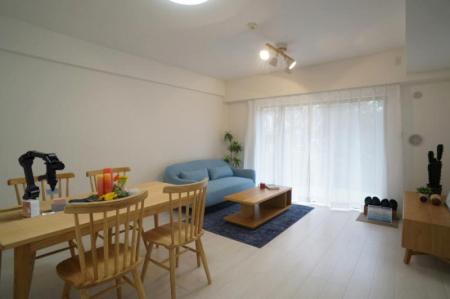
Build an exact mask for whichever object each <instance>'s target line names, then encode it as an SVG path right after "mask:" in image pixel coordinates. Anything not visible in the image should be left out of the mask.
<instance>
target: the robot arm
mask: <svg viewBox="0 0 450 299" xmlns="http://www.w3.org/2000/svg"><path fill="white" fill-rule="evenodd" d="M36 158H37V159H42V161H44V162H43V165H45V173H44V174H41V175H38V176H36V179H37V181H38V183H39V182H42V181H44V180H45V181H46V184H47V185H49V188H51V191H52V192H53V191H54V189H55V187H57V184H58V182H59V179H58V178H57V171H64V169H65V168H66V165H65V163H64V162H63V161H62V160H60V158H59V157H58V156H57V153H56V152H55V153H54V152H47V153H46V152H41V151H37V150H27V151H26V153H23V154H21V155H20V156H19V157H18V159H17V161H18V164H19V166H20V167H22V169H23V173H24V174H23V175H24V178H25V185H26V188H25V189H24V193H23V195H22V200H23V201H26V200H30V199H32V200H37V198H39V197H40V194H41V190H40V186H38V185H36V181H35V177H34V172H33V165H34V160H35V159H36Z"/></svg>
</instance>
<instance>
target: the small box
mask: <svg viewBox="0 0 450 299" xmlns="http://www.w3.org/2000/svg"><path fill="white" fill-rule="evenodd" d="M22 216H23V217H27V218H33V217H37V216H40V200H39V199H36V200H32V199H30V200H23V201H22Z"/></svg>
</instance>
